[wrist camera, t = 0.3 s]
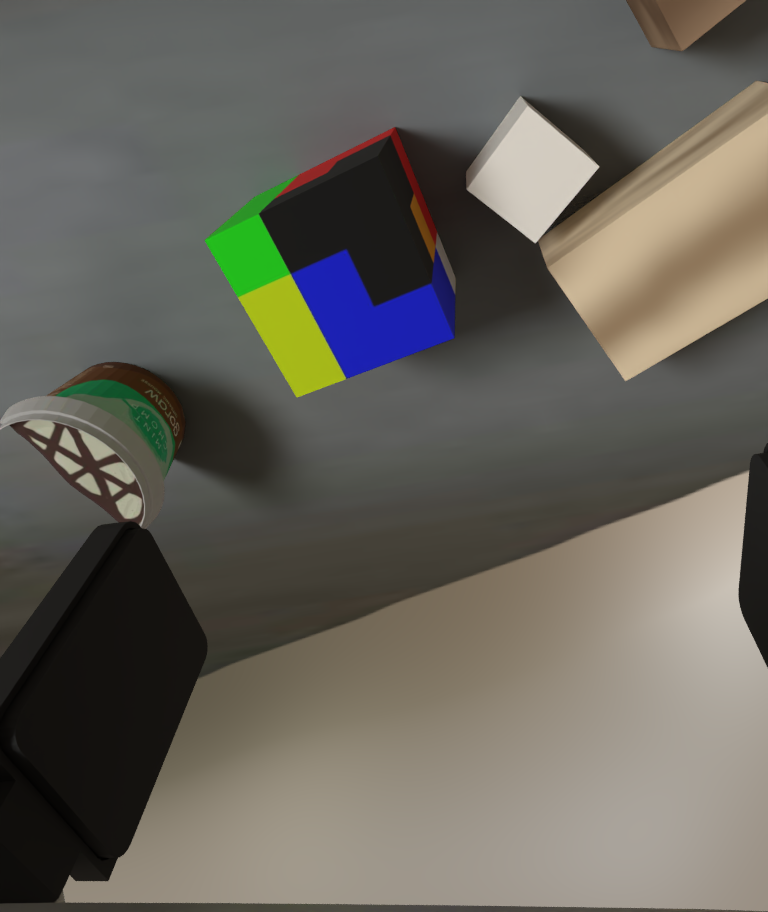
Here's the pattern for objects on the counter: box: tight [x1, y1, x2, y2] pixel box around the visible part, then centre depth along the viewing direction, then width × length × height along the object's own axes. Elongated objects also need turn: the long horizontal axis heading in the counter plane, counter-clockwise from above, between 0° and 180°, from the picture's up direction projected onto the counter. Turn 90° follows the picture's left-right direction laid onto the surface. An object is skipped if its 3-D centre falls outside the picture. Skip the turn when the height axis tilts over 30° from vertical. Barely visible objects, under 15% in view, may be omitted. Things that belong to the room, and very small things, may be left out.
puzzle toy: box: [205, 127, 456, 397], centre depth 39 cm, size 10×10×10 cm
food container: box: [0, 362, 186, 529], centre depth 47 cm, size 12×6×10 cm, turn 36°
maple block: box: [538, 81, 768, 381], centre depth 38 cm, size 9×14×6 cm, turn 130°
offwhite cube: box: [466, 96, 599, 243], centre depth 37 cm, size 5×5×5 cm
